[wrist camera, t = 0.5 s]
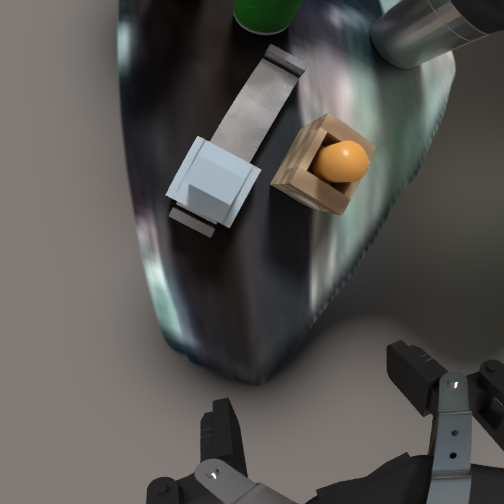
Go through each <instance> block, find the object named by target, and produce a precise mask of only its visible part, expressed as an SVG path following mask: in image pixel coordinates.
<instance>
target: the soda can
mask: <svg viewBox="0 0 504 504" xmlns="http://www.w3.org/2000/svg"><path fill="white" fill-rule="evenodd" d="M302 1H303V0H235V5H234V16H235V19H236V21H237V22H238V24H239V25H240V26H241V27H243V28H244V29H246V30H247V31H249V32H252V33H255V34H259V35H272V34H277V33H279V32H282V31H283V30H285V29H286V28H287V27H288V26H289V24H290V22H291V20H292V19H293V17H294V15H295V13H296V12H297V10H298V8H299V6H300V5H301V3H302Z"/></svg>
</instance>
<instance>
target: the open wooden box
mask: <svg viewBox="0 0 504 504" xmlns="http://www.w3.org/2000/svg"><path fill="white" fill-rule="evenodd" d="M342 141H354V142H356V143H358V144H359V145H360V146H361V147H362V148H363V149H364V150H365V152H366V154H367V157H368V164H369V162H370V160H371V158H372V156H373V154H374V152H375V149H376V146H375V145H373V144H372V143H371V142H369V141H368V140H367V139H365V138H364V137H363V136H361V135H360V134H359V133H357V132H356V131H355V130H353V129H352V128H350V127H349V126H347V125H346V124H345V123H343V122H342V121H340V120H339V119H337V118H336V117H334V116H333V115H331V114H330V113H327V114H325V115H323V116H322V117H320V118H318V119H317V120H315V121H313V122H312V123H310V124H308V125H307V126H305V127H303V128H302V129H301V130H300V131H299V133H298V135H297V137H296V139H295V140H294V142H293V144H292V146H291V148H290V149H289V151H288V153H287V155H286V156H285V158H284V160H283V162H282V164H281V166H280V167H279V169H278V171H277V173H276V175H275V176H274V178H273V180H272V182H271V184H270V185H272V186H274V187H275V188H277V189H279V190H281V191H282V192H284V193H286V194H287V195H289V196H290V197H292V198H293V199H295V200H297V201H298V202H300V203H302V204H304V205H306V206H308V207H310V208H311V209H314V210H317V211H319V210H320V211H324V212H329V213H333V214H337V215H343V213H344V211H345V209H346V207H347V206H348V204H349V202H350V200H351V198H352V196H353V194H354V192H355V190H356V188H357V186H358V184H359V182H360V180H361V179H360V180H358V181H355V182H324V181H322V180H320V179H319V178H317V177H316V175H315V174H314V172H313V170H312V159H313V158H314V156H315V154H316V152H317V150H319V149H321V148H323V147H327V146H330V145H333V144H336V143H339V142H342Z"/></svg>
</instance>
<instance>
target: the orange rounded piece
mask: <svg viewBox="0 0 504 504" xmlns="http://www.w3.org/2000/svg"><path fill="white" fill-rule="evenodd" d="M367 169H368V157H367V154H366V152H365V150H364V149H363V148H362V147H361V146H360V145H359V144H358V143H356V142H354V141H342V142H339V143H336V144H333V145H330V146H327V147H323V148H321V149H319V150H317V152H316V154H315V156H314V158H313V159H312V170H313V172H314V174H315V175H316V177H317V178H319V179H320V180H322V181H324V182H355V181H358V180H360V179H361V178H362V177H363V176H364V175H365V174H366V172H367Z"/></svg>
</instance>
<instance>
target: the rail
mask: <svg viewBox="0 0 504 504" xmlns="http://www.w3.org/2000/svg"><path fill="white" fill-rule="evenodd" d="M308 66H309V65H308V64H306V63H304V62H303V61H301V60H299V59H297V58H296V57H294V56H292V55H290V54H289V53H287V52H285V51H283V50H281V49H279V48H278V47H276V46H274V45H272V44H270V46H269V47H268V48H267V50H266V52H265V54H264V57H263V58H262V59H261V61H260V62H259V64H258V65H257V67H256V68H255V70H254V71H253V73H252V74H251V76H250V77H249V79H248V80H247V82H246V84H245V85H244V87H243V88H242V90H241V91H240V93H239V94H238V96H237V98H236V99H235V101H234V102H233V104H232V106H231V107H230V109H229V110H228V112H227V114H226V115H225V117H224V119H223V120H222V122H221V124H220V125H219V127H218V129H217V130H216V132H215V134H214V136H213V137H212V139H211V141H210V143H212V144H214V145H216V146H218V147H220V148H222V149H224V150H226V151H228V152H230V153H231V154H233V155H235V156H237V157H239V158H241V159H243V160H244V161H246V162H248V163H250V161H251V160H252V158H253V156H254V154H255V153H256V151H257V149H258V147H259V146H260V144H261V142H262V140H263V139H264V137H265V135H266V133H267V132H268V130H269V128H270V126H271V125H272V123H273V121H274V120H275V118H276V116H277V114H278V113H279V111H280V109H281V108H282V106H283V104H284V103H285V101H286V99H287V98H288V96H289V94H290V93H291V91H292V89H293V88H294V86H295V84H296V83H297V81H298V80H299V78H300V76H301V75H302V74H303V73H304V72H305V71H306V69H307V67H308ZM176 204H177V205H179V206H181V207H183V208H185V209H187V210H189V211H191V212H193V213H195V214H196V215H198V216H200V217H202V218H204V219H206V220H208V221H210V222H212V223H214V224H217V221H215V220H213V219H211V218H209V217H207V216H205V215H203V214H201V213H200V212H198V211H196V210H194V209H192V208H190V207H188V206H186V205H184V204H182V203H180V202H178V201H177V203H176ZM179 206H175V207H173V208H172V210H171V212H170V214H169V217H171V218H173V219H175V220H177V221H179V222H181V223H183V224H185V225H187V226H189V227H191V228H192V229H194V230H196V231H198V232H200V233H202V234H204V235H206V236H208V237H210V238H211V236H212V234H213V233H214V231H215V225H214V224H212V223H210V222H208V221H206V220H204V219H202V218H200V217H198V216H196V215H194V214H192V213H190V212H189V211H187V210H185V209H183V208H181V207H179Z"/></svg>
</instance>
